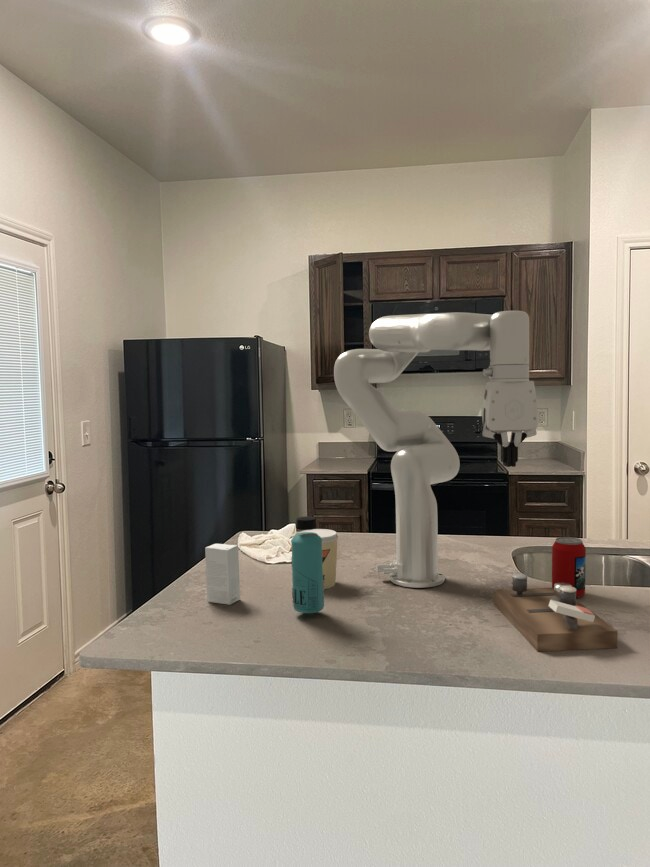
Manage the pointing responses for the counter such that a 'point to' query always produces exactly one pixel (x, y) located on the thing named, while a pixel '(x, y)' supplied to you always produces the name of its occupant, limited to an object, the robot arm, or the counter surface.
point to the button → (557, 588)
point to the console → (552, 622)
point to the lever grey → (519, 583)
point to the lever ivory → (568, 595)
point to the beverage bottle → (307, 568)
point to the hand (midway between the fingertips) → (509, 465)
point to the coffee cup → (328, 555)
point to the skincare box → (222, 573)
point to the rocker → (572, 610)
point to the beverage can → (569, 563)
